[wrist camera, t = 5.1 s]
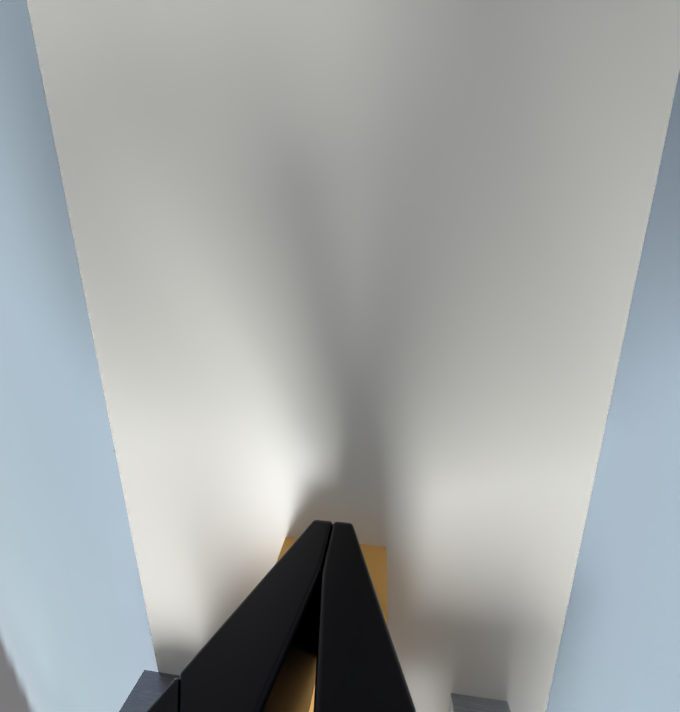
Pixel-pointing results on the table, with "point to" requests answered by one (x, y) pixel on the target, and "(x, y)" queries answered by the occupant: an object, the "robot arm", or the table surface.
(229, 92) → the mount plate
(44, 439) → the table surface
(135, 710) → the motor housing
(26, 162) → the table surface
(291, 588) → the robot arm
